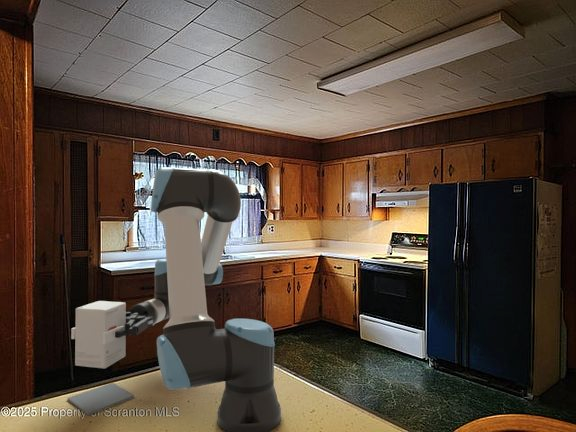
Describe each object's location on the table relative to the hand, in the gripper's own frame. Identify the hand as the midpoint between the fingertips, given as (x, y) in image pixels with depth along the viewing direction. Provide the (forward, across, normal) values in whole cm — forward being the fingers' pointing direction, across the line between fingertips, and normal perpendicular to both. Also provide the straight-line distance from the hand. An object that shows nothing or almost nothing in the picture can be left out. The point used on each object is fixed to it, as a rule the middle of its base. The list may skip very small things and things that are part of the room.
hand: (87, 336), depth 99 cm
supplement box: (-4, 0, -8) cm, 9 cm away
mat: (-4, 0, -18) cm, 18 cm away
